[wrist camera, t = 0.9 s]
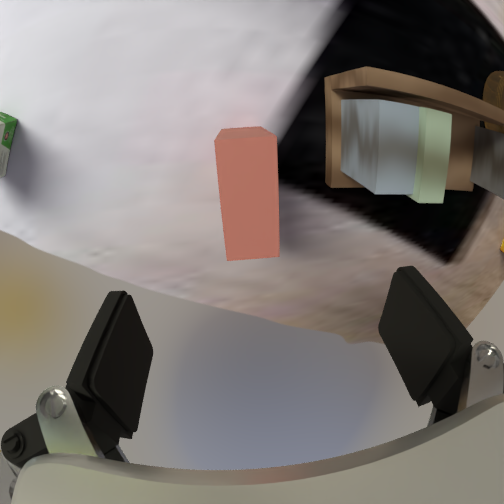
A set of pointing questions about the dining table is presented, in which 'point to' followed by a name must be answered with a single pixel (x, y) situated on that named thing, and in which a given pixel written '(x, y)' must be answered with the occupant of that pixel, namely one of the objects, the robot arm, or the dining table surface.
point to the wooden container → (494, 96)
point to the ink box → (5, 139)
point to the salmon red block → (248, 192)
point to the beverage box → (502, 246)
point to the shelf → (411, 97)
